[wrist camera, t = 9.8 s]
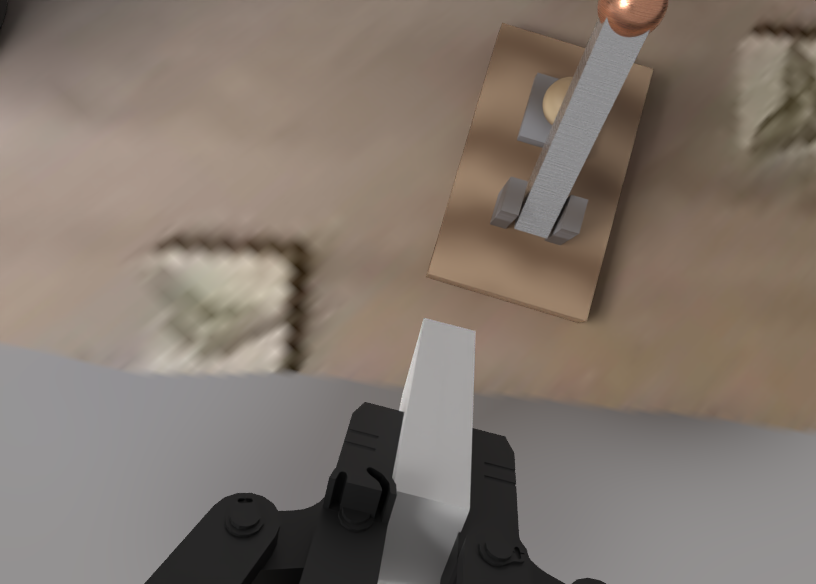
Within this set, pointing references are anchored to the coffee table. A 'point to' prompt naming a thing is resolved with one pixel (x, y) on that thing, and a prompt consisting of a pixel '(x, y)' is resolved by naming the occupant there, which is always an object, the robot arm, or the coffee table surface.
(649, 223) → the coffee table surface
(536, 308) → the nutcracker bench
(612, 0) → the lever
